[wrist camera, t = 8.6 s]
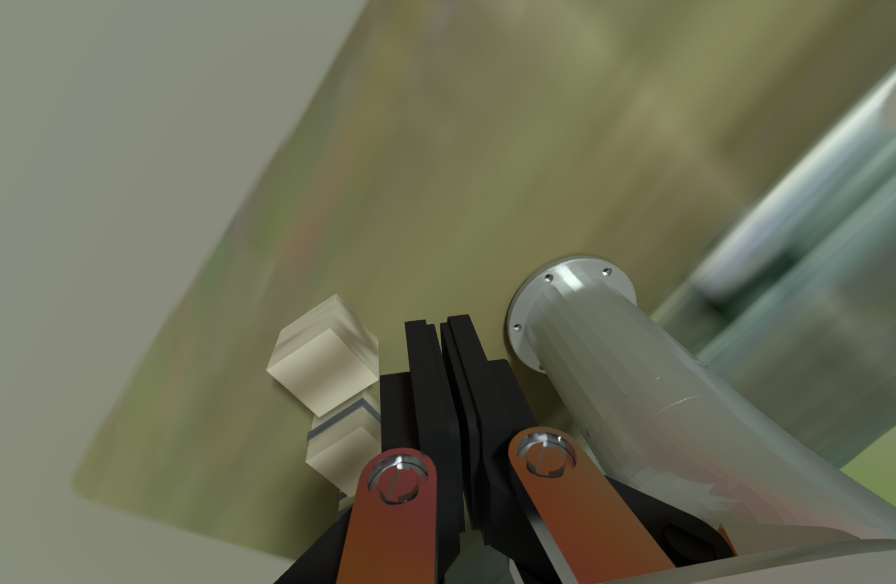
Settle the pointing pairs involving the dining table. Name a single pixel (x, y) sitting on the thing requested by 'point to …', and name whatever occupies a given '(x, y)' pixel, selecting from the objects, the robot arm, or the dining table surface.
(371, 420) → the banded block one
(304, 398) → the plain block
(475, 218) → the dining table surface
